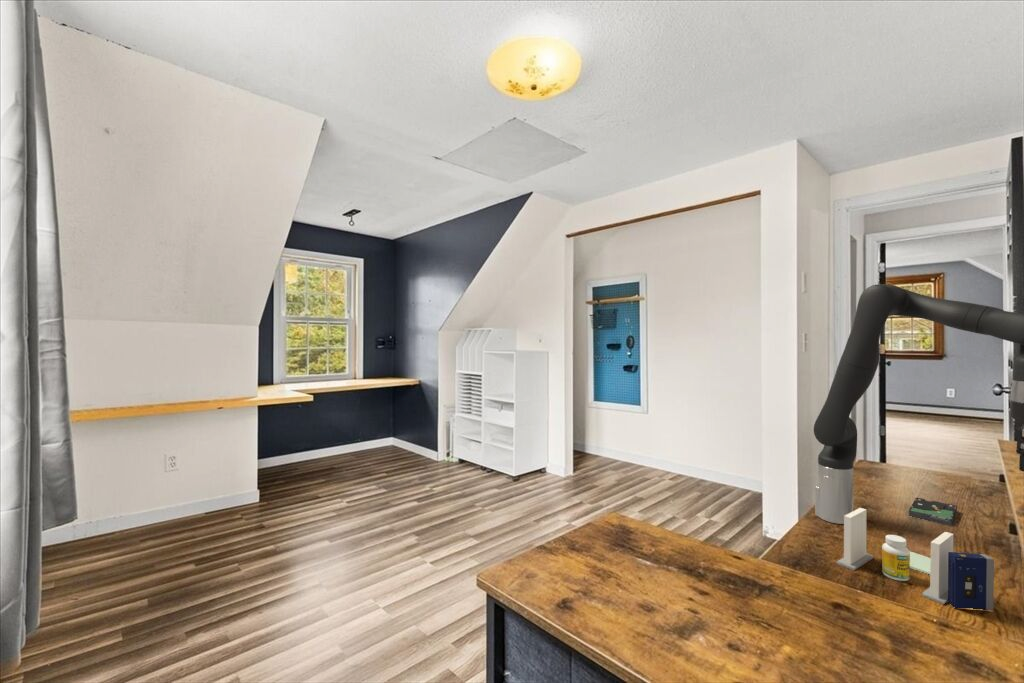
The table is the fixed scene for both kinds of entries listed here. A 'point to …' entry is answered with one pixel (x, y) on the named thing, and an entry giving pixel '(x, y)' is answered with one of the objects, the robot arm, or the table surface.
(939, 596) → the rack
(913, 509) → the disk drive
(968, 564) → the cassette player
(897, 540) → the supplement bottle
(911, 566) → the pad
